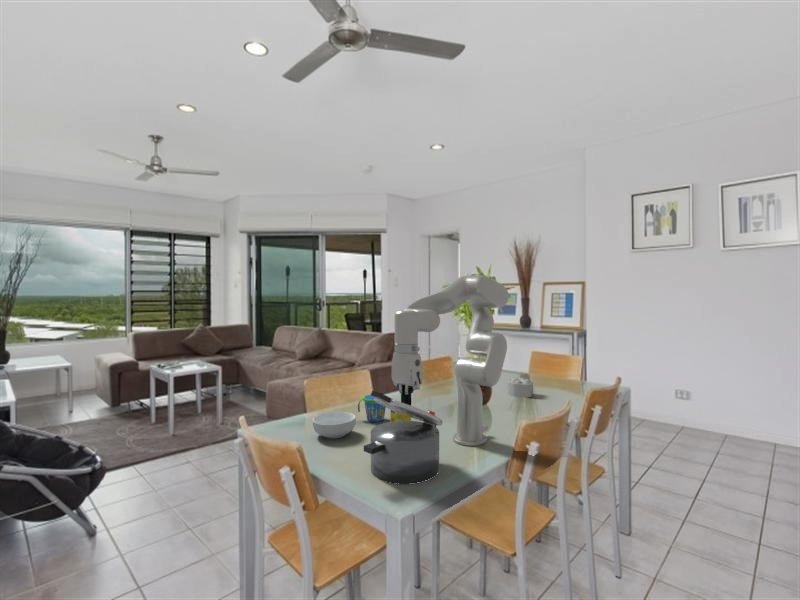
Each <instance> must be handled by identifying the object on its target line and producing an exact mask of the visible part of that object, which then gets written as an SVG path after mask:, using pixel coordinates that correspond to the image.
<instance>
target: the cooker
mask: <svg viewBox="0 0 800 600" xmlns="http://www.w3.org/2000/svg"><path fill="white" fill-rule="evenodd" d="M363 452H364V453H367V454H370V472H371V474H372V475H373V477H374V478H376V477H377V479H378V480H381V481H382V480H383V481H382V482H385V481H387V482H386V483H389V482H391V484H394V483H397V484H396V485H410V484H409V483H416V484H418V483H417V482H422V481H425V480H428V479H430V478H432V477H434V476H435V477H437V475H438V474H439V472H440V429H438V428H437V425H433V424H429V423H426V422H423V421H419V420H418V421H417V420H411V421H391V422H390V421H387V422H383V423H379V424H377V425H376V426H374V427H372V429H371V430H370V442H369V443H368V444H365V445H363ZM437 473H438V474H437ZM435 477H434V478H435ZM432 479H433V478H432ZM430 480H431V479H430ZM428 481H429V480H428ZM425 482H426V481H425ZM398 483H399V484H398ZM422 483H423V482H422Z"/></svg>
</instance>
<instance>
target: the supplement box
mask: <svg viewBox="0 0 800 600" xmlns="http://www.w3.org/2000/svg"><path fill="white" fill-rule="evenodd" d="M389 410H390V414H389V415H390V421H389V422H391V421H412V418H411V417H408V416H405V415H403V414H400V413H398V412H395V411H393V410H391V409H389Z"/></svg>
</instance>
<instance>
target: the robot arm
mask: <svg viewBox="0 0 800 600" xmlns="http://www.w3.org/2000/svg"><path fill="white" fill-rule="evenodd" d="M509 295H510V294H509V291H508V289H507V287H506V286H505V285H503V284H501V283H500V282H498V281H496V280H494V279H493V278H491V277H489V276H486V275H482V274H481V275H480V274H479V275H478V274H477V275H475V274H474V275H463V276H459V277H458V278H456V279H454V281H452V282H451V283H449V284H448V285H447V286H446V287H443V288H442V289H441V290H440V291H436V292H435V293H432V294H430V295H427V296H424V297H421V298H419V299H418V300H415V301H413V302H412V303H411V304H409V305H408V306H407V307H405V309H404V310H403V309H402V310H401V309H400V310H397V311H395V313H394V352H393V354H392V361H391V380H392V384H393V385H394V386H395V387H396V388H397V389H398V391H399V392H398V393H399V394H400V402H402V403H405V404H408V405H410V406H412V394H413V393H414V392H415V391H418V390H420V388H421V386H420V385H421V384H423V380H424V378H423V377H424V375H423V363H422V358H421V354H420V353H419V351H420V350H421V349H420V347H419V332H421V333H431V332H435V331H436V330H437V329H438V328H439V326H440V324H441V318H440V315H444V314H449V313H451V312H454V311H456V310H457V309H458V308H460V306H462V305H463V304H464V303H465V302H467V303H468V306H469V308H470V310H471V311H470V312H471V315H472V316H471V317H472V318H471V323H470V326H469V331H468V335H467V338H466V342H465V350H466V352H467V353H468V354H470V355H473V356H478V357H484V359H483V358H478V357H471V356H465V357H464V356H463V357H461V358H459V359H457V361H455V364H454V376H455V382H456V394H457V395H456V398H457V399H456V405H457V406H456V433H454V434H453V435H452V440H453V442H455V443H456V444H459V445H463V446H468V447H477V446H482V445H484V444H486V443H487V436H486V435H484V432H485V431H487V430H488V429H489V428H488V426H487V424H484V425H483V391H482V388H481V386H484V387H489V388H491V387H494V386H496V385H497V384H498V383H499V381H500V378H501V376H502V375H501V374H502V372H503V371H502V370H503V367H504V364H505V361H506V360H505V359H506V355H507V350H508V342H507V338H506V337H505V335H504V334H502V333H500V332H495V331H493V328H494V324H495V320H494V316H493V313H492V312H491V311H490V309H489V308H503V307H505V306H506V305H507V304H508V302H509V298H510V296H509ZM485 357H486V359H485Z"/></svg>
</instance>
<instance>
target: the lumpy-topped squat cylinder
mask: <svg viewBox="0 0 800 600" xmlns="http://www.w3.org/2000/svg"><path fill="white" fill-rule="evenodd" d="M507 395H509V396H511V397H514V396H515V397H514V398H522V397H527V398H528V397H531V398H532V397H533V396H534V381H531V380H530V379H527V378H525V377H520V378H518V377H513V378H512V379H508V380H507ZM532 395H533V396H532ZM527 398H526V399H527ZM528 399H529V398H528Z"/></svg>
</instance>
